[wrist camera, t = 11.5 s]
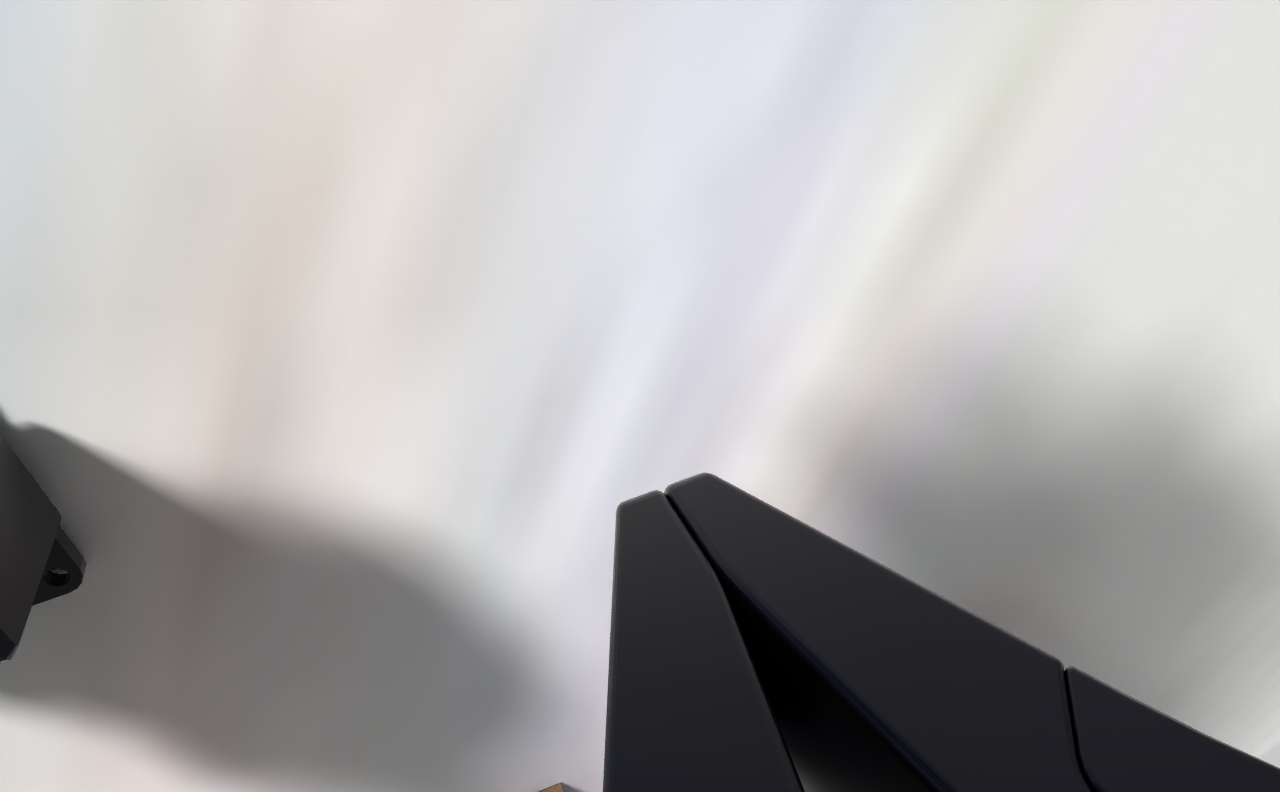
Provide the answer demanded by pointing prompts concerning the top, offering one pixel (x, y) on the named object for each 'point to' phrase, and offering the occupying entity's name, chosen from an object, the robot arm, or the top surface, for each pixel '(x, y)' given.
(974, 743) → the robot arm
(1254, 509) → the top surface
